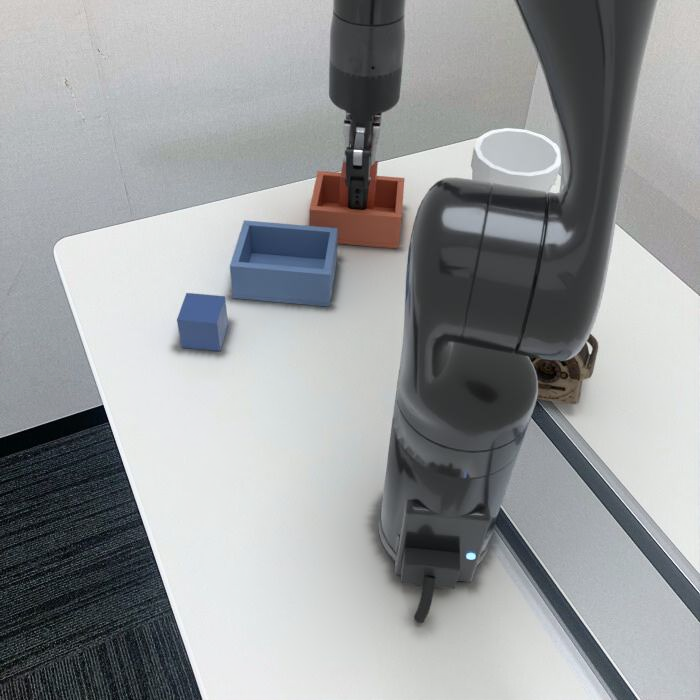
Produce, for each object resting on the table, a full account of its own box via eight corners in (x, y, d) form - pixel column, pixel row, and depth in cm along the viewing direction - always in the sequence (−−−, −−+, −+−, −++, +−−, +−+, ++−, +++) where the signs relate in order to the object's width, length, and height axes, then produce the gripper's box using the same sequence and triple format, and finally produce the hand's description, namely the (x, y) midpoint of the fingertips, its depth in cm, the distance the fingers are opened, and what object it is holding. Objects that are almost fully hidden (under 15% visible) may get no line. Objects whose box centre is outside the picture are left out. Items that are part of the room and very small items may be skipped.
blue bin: (329, 306, 82) (330, 274, 79) (232, 298, 82) (229, 265, 79) (336, 259, 87) (337, 227, 84) (246, 252, 88) (243, 220, 84)
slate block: (220, 351, 77) (216, 323, 74) (181, 347, 77) (176, 319, 74) (228, 324, 79) (225, 295, 77) (190, 320, 80) (186, 292, 77)
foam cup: (548, 241, 91) (575, 146, 82) (517, 282, 86) (543, 186, 76) (477, 214, 95) (496, 119, 85) (443, 252, 89) (459, 156, 80)
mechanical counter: (475, 334, 72) (567, 373, 66) (550, 264, 78) (641, 294, 72) (480, 387, 77) (567, 428, 71) (551, 317, 83) (637, 349, 77)
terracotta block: (373, 209, 88) (375, 180, 85) (339, 206, 88) (340, 177, 85) (375, 189, 91) (377, 160, 88) (342, 186, 91) (343, 157, 88)
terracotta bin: (398, 248, 89) (401, 217, 86) (309, 241, 90) (309, 209, 86) (401, 209, 95) (404, 177, 91) (317, 202, 95) (317, 170, 92)
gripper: (399, 92, 72) (387, 236, 84) (405, 29, 82) (393, 166, 94) (321, 86, 72) (320, 230, 84) (336, 23, 82) (333, 161, 94)
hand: (358, 196), depth 89 cm, fingers closed on terracotta block, 4 cm apart
